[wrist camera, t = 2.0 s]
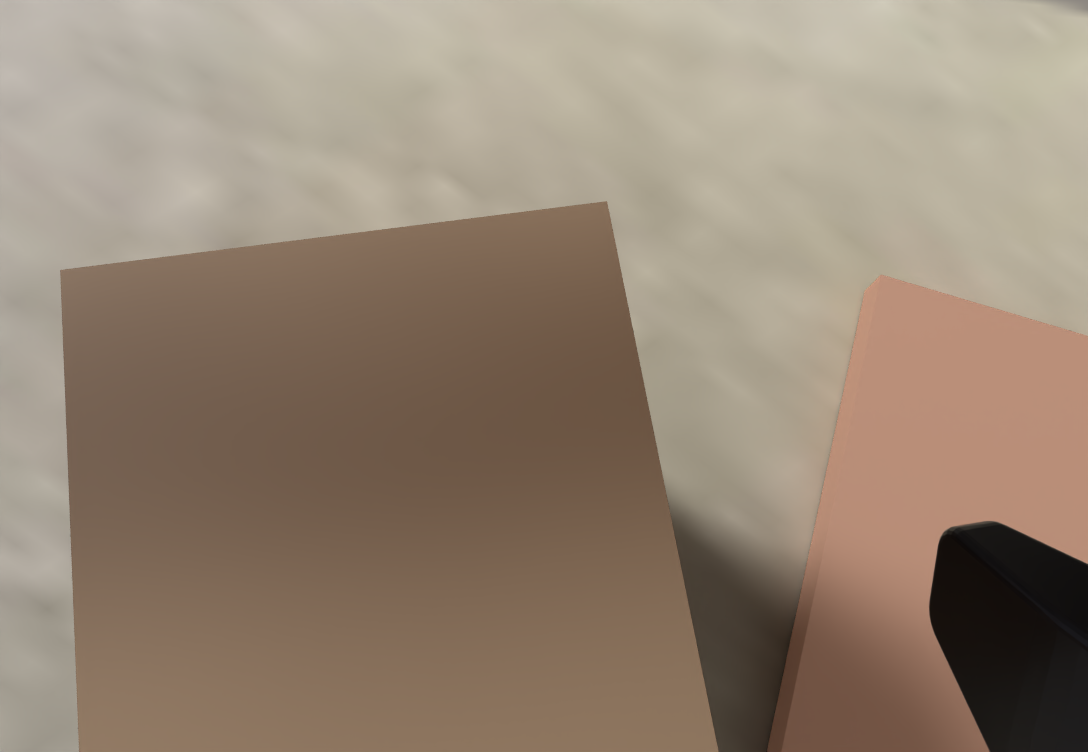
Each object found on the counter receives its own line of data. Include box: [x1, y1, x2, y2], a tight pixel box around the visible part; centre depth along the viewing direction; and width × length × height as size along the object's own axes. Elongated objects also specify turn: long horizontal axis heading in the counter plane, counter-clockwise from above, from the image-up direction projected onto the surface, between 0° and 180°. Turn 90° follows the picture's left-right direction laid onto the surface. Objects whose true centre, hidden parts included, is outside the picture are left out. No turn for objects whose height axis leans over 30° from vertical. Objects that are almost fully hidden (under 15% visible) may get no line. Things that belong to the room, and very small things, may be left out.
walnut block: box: [60, 201, 719, 752], centre depth 13 cm, size 5×5×9 cm
